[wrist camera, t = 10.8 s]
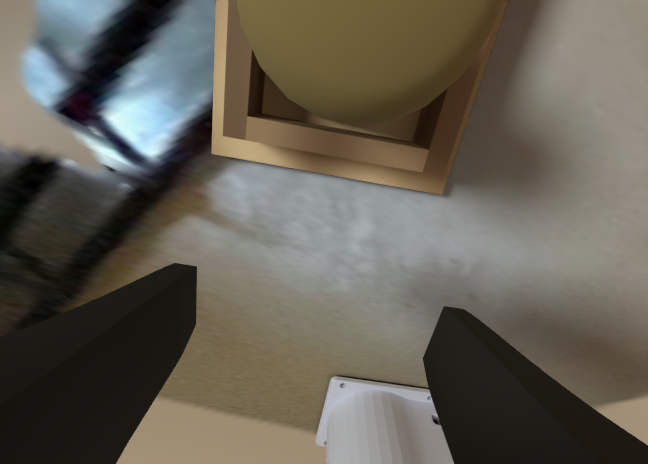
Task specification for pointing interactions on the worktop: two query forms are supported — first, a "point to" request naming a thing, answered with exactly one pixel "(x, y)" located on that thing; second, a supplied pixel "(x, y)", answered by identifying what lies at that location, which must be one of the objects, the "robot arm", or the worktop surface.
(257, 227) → the worktop surface
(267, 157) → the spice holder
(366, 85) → the cork
